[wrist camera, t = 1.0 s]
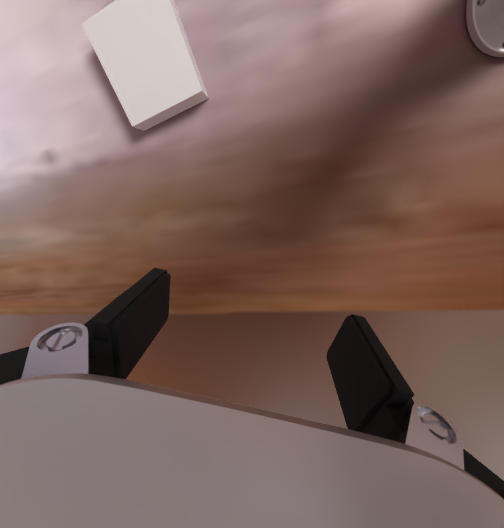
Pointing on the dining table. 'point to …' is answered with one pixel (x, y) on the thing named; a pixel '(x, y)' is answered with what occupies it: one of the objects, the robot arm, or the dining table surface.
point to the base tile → (146, 59)
